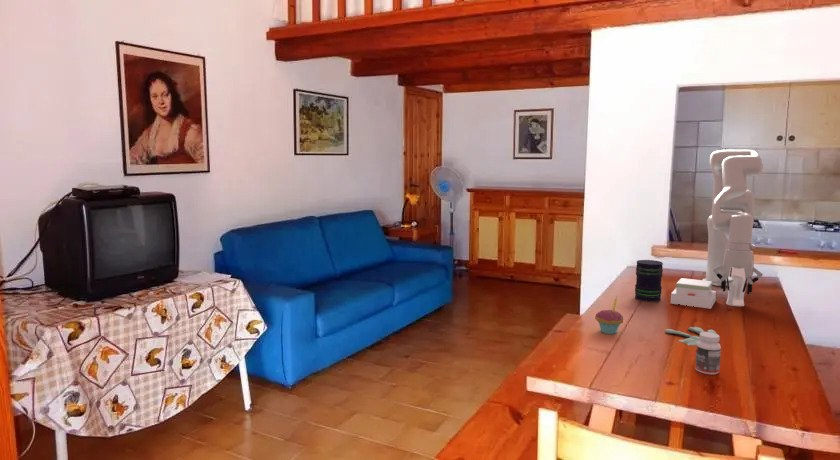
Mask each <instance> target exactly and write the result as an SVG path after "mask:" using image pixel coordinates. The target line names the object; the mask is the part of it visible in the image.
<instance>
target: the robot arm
mask: <svg viewBox="0 0 840 460" xmlns="http://www.w3.org/2000/svg"><path fill="white" fill-rule="evenodd" d="M709 156H710V157H709V167H710V170H711V173H712V176H713V188H712V190H713V191H712V205H711V215H709V216H708V218H707V220H706V221H707V222H706V223H707V224H706V225H707V235H708V239H707V241H708V244H707V258H706V270H705V271H706V273H705V275H706V277H705V278H704V277H703V278H702V280H704V281H712V282H713V285H712V286H717V287H720V289H721V290H722V292H726V290H727V289H726V287H727V276H728V275H729V271H730V268H731V267H736V268H744V271H745V277H746V278H747V287H746V288H747V290H746V294H747V295H750V293H753V285H754V283H756V282H758V281H759V279H761V278H762V277H763V275H764V273H762V272H761V271H760V270H758V269H757V268H756V267H755V265H754V264H755V263H754V262H755V258H754V251H752V250H753V249H756V245H755V244H752V240H753V239H752V237H753V235H752V234H753V227H754V225H755V219H754V209H755V208H754V207H755V195H754V193H753V191H751V190H750V189H748V185H747V184H748V183H747V177H759V176H761V174H762V173H763V169H764V168H763V165H764V164H763V159H762V158H761V156H760V154H758V153H757V151H756V150H753V149H721V150H715V151H713V152H712V153H711V154H710V155H709ZM727 236H728V237H727ZM754 274H756V276H755V277H754V278H752V277H753V275H754Z"/></svg>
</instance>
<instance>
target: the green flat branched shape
mask: <svg viewBox="0 0 840 460" xmlns="http://www.w3.org/2000/svg"><path fill="white" fill-rule="evenodd" d="M687 330H688V331H689V332H691V333H694V334H696V335H691V334H689V333H686V332H682V331H680V330H674V329H671V328H667V329H665V333H664V334H671V335H674V336H679V337H682V338H685V339H678V342H680V343H683V344H686V345H687V346H695V347H697V342H698V341H700V338H699V336H697V335H700V333H701V332H710V333H715V334H717V332H716V331H715V330H714V329H707V331H706V330H704V329H702V328H701V327H698V326H689V327H688V328H687ZM717 335H719V334H717ZM720 340H721V339H719V341H720Z"/></svg>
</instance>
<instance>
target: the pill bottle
mask: <svg viewBox="0 0 840 460" xmlns="http://www.w3.org/2000/svg"><path fill="white" fill-rule="evenodd" d="M698 335H699V334H698ZM698 337H699V338H700V341H698V342H697V346H696V351H695V364H694V366H695V367H694V369H695V370H696V371H697V372H699V373H702V374H705V375H711V376H712V375H717V374H719V373H720V369H721V368H720V367H721V355H722V353H721V352H722V346H721V344H720V343H719V342H720V340H721V339H720V335H719V334H718V335H717V334H715V333H710V332H708V331H706V332H705V331H704V332H701V333H700V335H699V336H698ZM719 339H720V340H719Z"/></svg>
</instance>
